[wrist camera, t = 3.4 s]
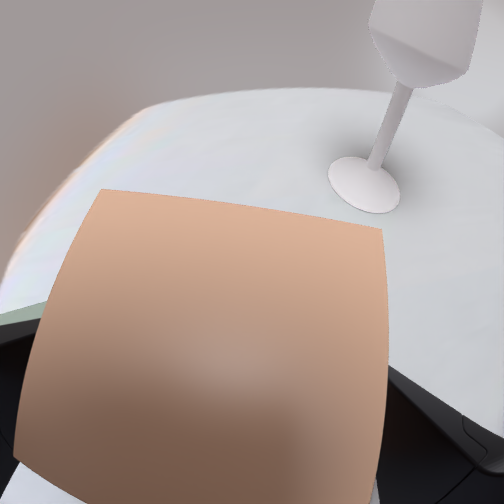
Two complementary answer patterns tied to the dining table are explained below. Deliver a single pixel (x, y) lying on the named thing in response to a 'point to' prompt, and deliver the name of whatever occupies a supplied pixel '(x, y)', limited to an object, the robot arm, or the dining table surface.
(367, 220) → the dining table surface
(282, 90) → the dining table surface
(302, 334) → the peach rectangular block
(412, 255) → the dining table surface
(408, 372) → the dining table surface
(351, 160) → the champagne flute
